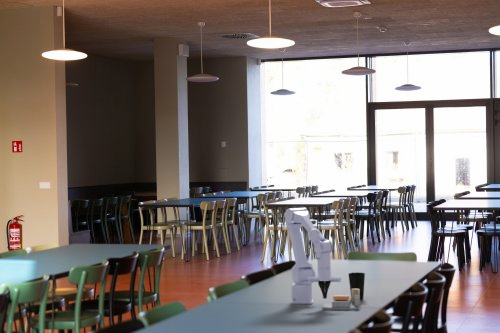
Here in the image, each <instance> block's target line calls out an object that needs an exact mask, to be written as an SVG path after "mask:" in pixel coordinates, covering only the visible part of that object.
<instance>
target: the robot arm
mask: <svg viewBox="0 0 500 333" xmlns="http://www.w3.org/2000/svg"><path fill="white" fill-rule="evenodd" d="M284 212H285V213H284V219H285V226H286V228H288V233H289V238H290V242H291V243H290V244H291V247H292V253H293V258H294V260H295V261H294V262H295V264H294V265H293V266H292V268H291V278H292V281H293V283H292V284H291V304H293V305H295V304H296V305H299V304H304V305H305V304H311V305H312V304H313V303H314V301H315V300H314V299H313V286H312V285H313V283H317V284H318V286H319V289H320V291H321V294H322V299H327V298H328V291H329V288H330V286H331V284H332V283H341V282H342V277H341V276H332V271H331V270H332V269H331V253H332V252H333V250H334V249H333V248H334V247H333V243H332V241H331V240H330V239H327V238H325V236H324V235H323V234H322V232H321V231H320V229H318V228H315V226H314V224H313V222H312V220H311V219H310V212H309V211H308V208H306V207H305V206H304V207H297V208H296V207H295V208H287V209H286V210H285V211H284ZM302 227H303V228H304V229H305V231H306V232H308V234H307V237H308V238H309V240H310V241H311V242H312V244H313V246H314V248H313V249H314V252H315V256H316V258H317V259H316V260H317V276H316V272H315V270H314V267H313V265H312V264H311V263H310V262H309V261H308V260H307V257H306V250H305V248H304V243H303V238H302V234H301V228H302Z"/></svg>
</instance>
